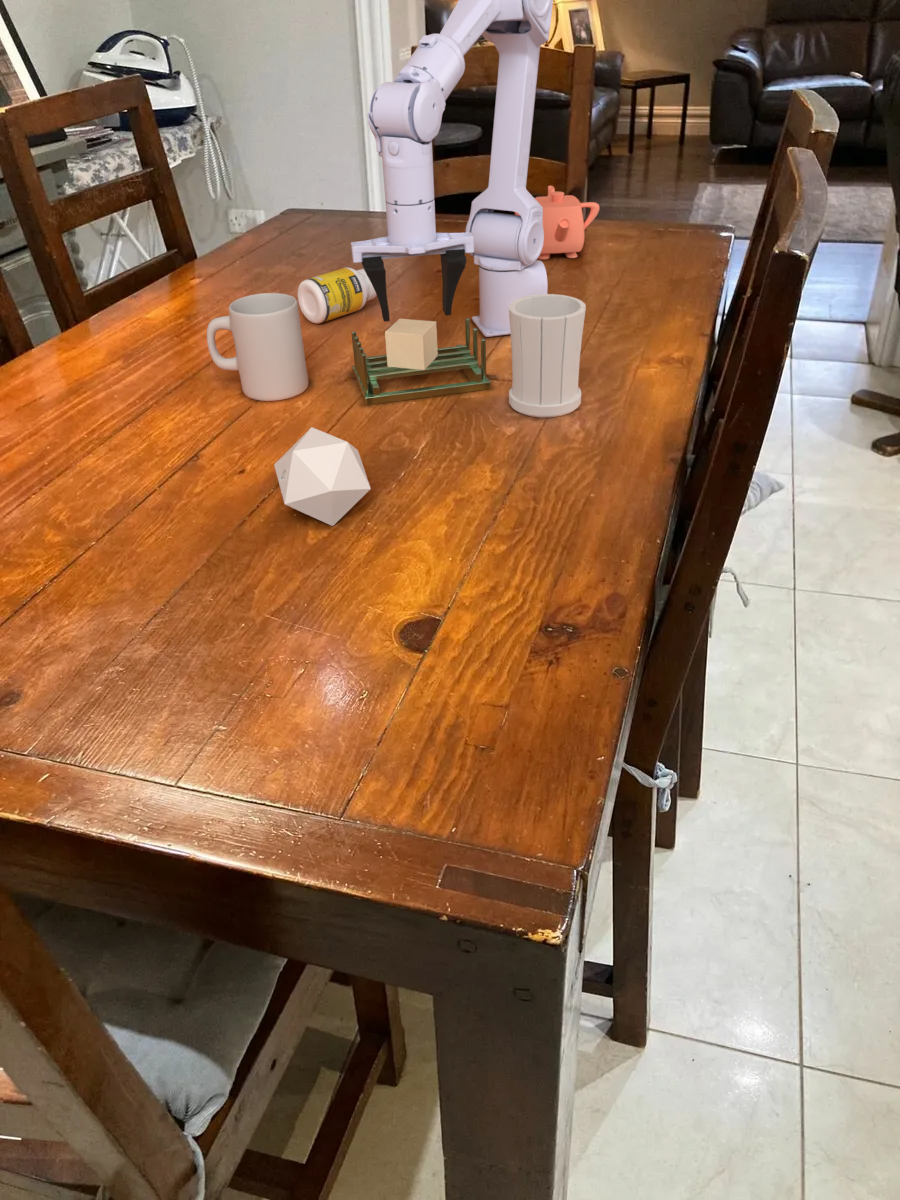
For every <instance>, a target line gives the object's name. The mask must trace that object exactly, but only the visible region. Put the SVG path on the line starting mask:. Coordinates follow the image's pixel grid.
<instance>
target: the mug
mask: <svg viewBox="0 0 900 1200" xmlns="http://www.w3.org/2000/svg"><path fill="white" fill-rule="evenodd" d="M220 330H224V331H225V330H226V331H229V332H231V335H232V339H233V345H234V349H235V356H233V357H229V358H228V357H224V356H223V355H221V353H220V352H219V350H218V347H217V344H216V334H217V332H218V331H220ZM206 343H207V348H208V352H209V355H210V358H211V360H212V361H213V363H214V365H215V366H216V367H218V368H219V369H220V370H223V371H231V372H238V373H239V374H238V375H239V380H240V384H241V389H242V392H243V394H244V395H245V396H246V397H247V398H249V399H252V400H256V401H261V402H277V401H283V400H287V399H291V398H295V397H296V396H299V395H301V394H303V393H304V392H305V391H306V390H307V389H308V388H309V384H310V383H309V375H308V374H309V373H308V368H307V362H306V354H305V348H304V339H303V332H302V325H301V319H300V310H299V302H298V299H297V298H295V296H293V295H290V294H287V293H280V292H264V293H263V292H262V293H255V294H250V295H245V296H243V297H239V298H237V299H235V300H233V301H232V302H231V303H230V304H229V306H228V315H223V316H218V317H215V318H213V319H212V320H210V322H209V323H208V325H207V328H206Z"/></svg>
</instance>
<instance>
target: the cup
mask: <svg viewBox="0 0 900 1200" xmlns="http://www.w3.org/2000/svg"><path fill="white" fill-rule="evenodd" d="M586 310H587V307H586V303H585V302H584V301H582V300H581V299H579V298H576V297H573V296H570V295H565V294H556V293H547V294H539V295H530V296H526V297H522V298H519V299H517V300H514V301H513V302H512V303H511V304H510V305H509V320H510V332H511V334H510V346H511V369H512V370H511V373H512V375H511V378H512V379H511V380H512V386H511V387H510V389H509V390H508V405H509V406H510V407H511V408H512V409H513V410H514V411H516V412H518V413H519V414H521V415H524V416H527V417H533V418H541V419H542V418H543V419H544V418H547V419H548V418H549V419H550V418H557V417H562V416H565V415H569V414H571V413H573V412H574V411H575V410H577V409H578V408H579V407H580V405H581V403H582V389H581V388H580V387H579V377H580V365H581V364H580V363H581V352H582V342H583V335H584V325H585V319H586Z"/></svg>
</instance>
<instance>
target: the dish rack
mask: <svg viewBox="0 0 900 1200" xmlns="http://www.w3.org/2000/svg"><path fill="white" fill-rule="evenodd" d="M464 327H465V331H464V332H465V334H464V335H465V344H461V343H460V344H455V345H454V346H453V345H452V346H445V347H437V350H438V356H437V357H436V358H435V359H434V360H433V362H432V363H431V364H430V365H429V366H428V367H427V368H426V369H425V370H417V369H407V368H397V367H388V365H387V354H379V355H371V356H367V353H365V349H364V347H362V341H360V338H359V336H357V331H354V330H353V331H351V342H352V352H353V361H354V365H351V368H352V369H351V370H352V374H353V376H354V378H355V380H356V382H357V385H358V387H359V390H360V392H361V394H362V396H363V397H362V398H363V399H364V404H365V406H371V405H373V406H374V405H380V404H387V403H394V402H395V403H396V402H402V401H409V400H416V399H417V400H418V399H426V398H433V397H441V396H450V395H455V394H463V393H464V394H465V393H471V392H479V391H480V392H481V391H487V390H491V389H492V381H491V380H490V379H489V378H488V377H487V342H486V341H487V339H485V338H482V339H480V361H481V362H480V364H481V367H480V366H479V338H478V336H479V335H478V330H479V328H478V327H473V328H472V351H473V352H472V354H473V355H472V354H471V319H470V318H469V317H466V318H465V319H464ZM458 370H462V371H463V373H464V374H465V376H466V377H467V379H468V380H469V381H463V382H456V383H448V384H440V385H432V386H424V387H417V388H408V389H400V390H392V391H384V392H381V389H380V385H379V383H378V381H379V380H387V379H395V378H403V377H404V378H405V377H411V376H418V375H427V374H434V373H442V372H443V373H444V372H450V371H451V372H452V371H458Z"/></svg>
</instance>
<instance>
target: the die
mask: <svg viewBox="0 0 900 1200" xmlns="http://www.w3.org/2000/svg"><path fill="white" fill-rule="evenodd" d="M273 466H274V469H275V474H276V477H277V481H278V483H279V484H278V485H279V490H280V492H281V496H282V500H283V503H284V505H285V506H286V507H290V508H292V509H294V510H296V511H297V512H301V513H303V514H304V515H307V516H309V517H311V518H314V519H316V520H318V521H320V522H323V523H325V524H327V525H329V526H332V527H333V526H335V525H336V524H337V523H338V522H339V521H340V520H341V519H342V518H343V517H344V516H345V515H346V514H347V513H348V512H349V511H350V510H351V509H352V508H354V506H355V505H356V504H357V503H359V501H360V500H361V499H362V498H363V497H364V496H365V495H366V494H367V493H369V491H370V490H372V488H371V485H370V482H369V480H368V476H367V473H366V470H365V467H364V465H363V460H362V458H361V456H360V451H359V450H358V449H357V448H356V447H355V446H353V445H352V444H351V443H350V442H349V441H346V440H345V439H342V438H339V437H337V436H335V435H332V434H330V433H327V432H325V431H323V430H320V429H317V428H315V427H312V426H311V427H310V428H309V429H308V430H307V431H306V432H305V433H304V434H303V435H302V436H301V437H300V438H299V439H298V440H297V441H296V442H295V443H294V444H293V445H292V446H291V447H290V448H289V449H288V450H286V452H285V453H284V454H283V455H282V456H281V457H279V459H278V460H277V461H276V462H275V463H274V464H273Z"/></svg>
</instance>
